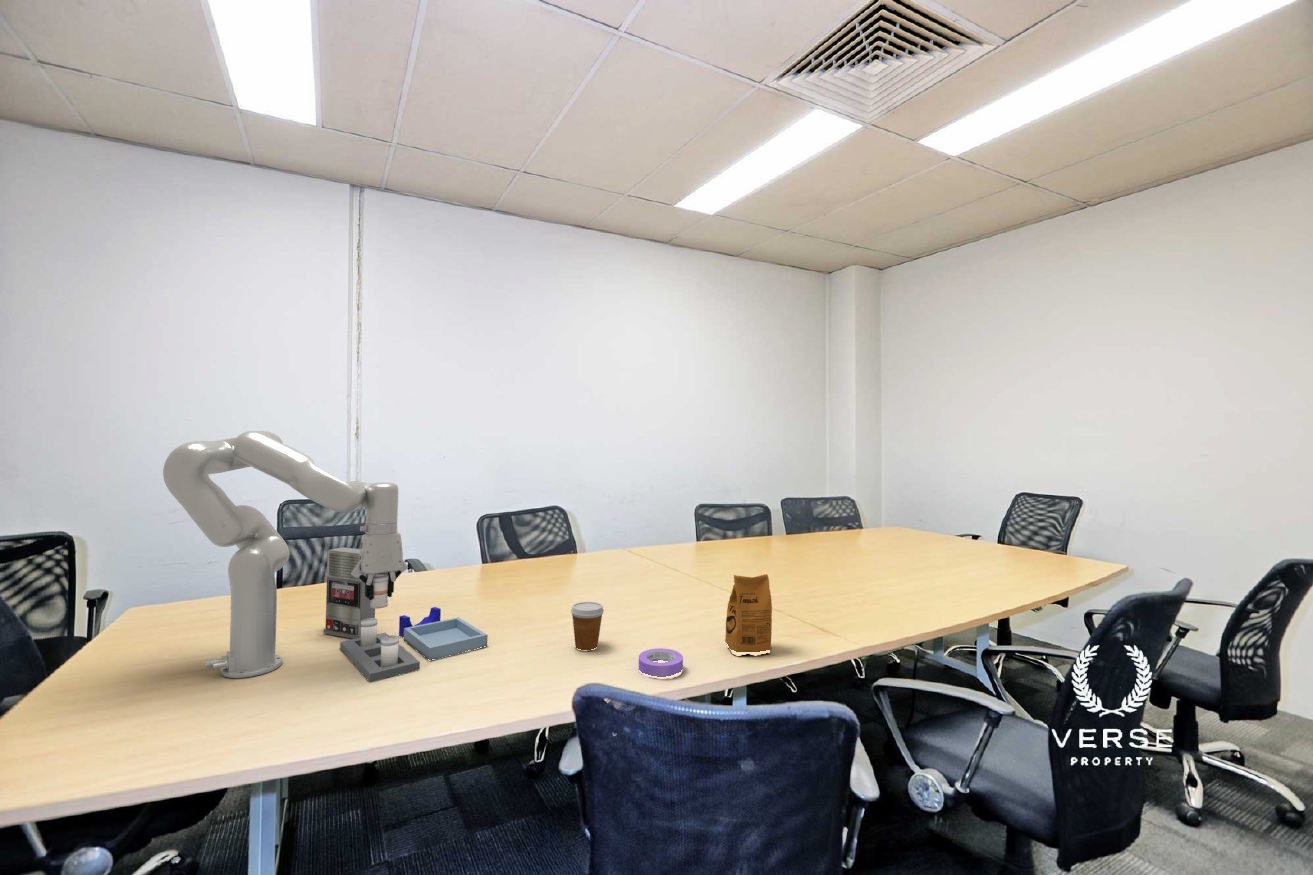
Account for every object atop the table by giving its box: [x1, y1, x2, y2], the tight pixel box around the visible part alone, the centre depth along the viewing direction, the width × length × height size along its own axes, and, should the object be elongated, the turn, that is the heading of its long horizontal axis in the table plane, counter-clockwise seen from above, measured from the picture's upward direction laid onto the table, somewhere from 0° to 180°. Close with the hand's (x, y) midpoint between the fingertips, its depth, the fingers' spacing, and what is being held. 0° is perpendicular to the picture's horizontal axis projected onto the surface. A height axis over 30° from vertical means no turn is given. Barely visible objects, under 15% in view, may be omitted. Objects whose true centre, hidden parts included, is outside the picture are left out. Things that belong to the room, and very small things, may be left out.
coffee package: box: [724, 573, 773, 652], centre depth 163 cm, size 10×12×22 cm
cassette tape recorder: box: [322, 546, 377, 639], centre depth 168 cm, size 14×6×25 cm, turn 71°
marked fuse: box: [370, 573, 389, 610], centre depth 150 cm, size 4×4×8 cm
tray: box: [403, 616, 489, 661], centre depth 162 cm, size 16×20×4 cm
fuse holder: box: [339, 632, 421, 683], centre depth 150 cm, size 12×28×2 cm, turn 43°
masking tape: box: [638, 647, 684, 677], centre depth 147 cm, size 12×12×4 cm
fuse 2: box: [380, 635, 400, 668], centre depth 143 cm, size 4×4×8 cm
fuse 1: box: [360, 617, 378, 647], centre depth 157 cm, size 4×4×8 cm
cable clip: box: [398, 606, 442, 638], centre depth 172 cm, size 12×4×6 cm, turn 146°
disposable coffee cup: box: [570, 601, 605, 650], centre depth 162 cm, size 10×10×12 cm
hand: (379, 596), depth 150 cm, fingers closed on marked fuse, 4 cm apart
